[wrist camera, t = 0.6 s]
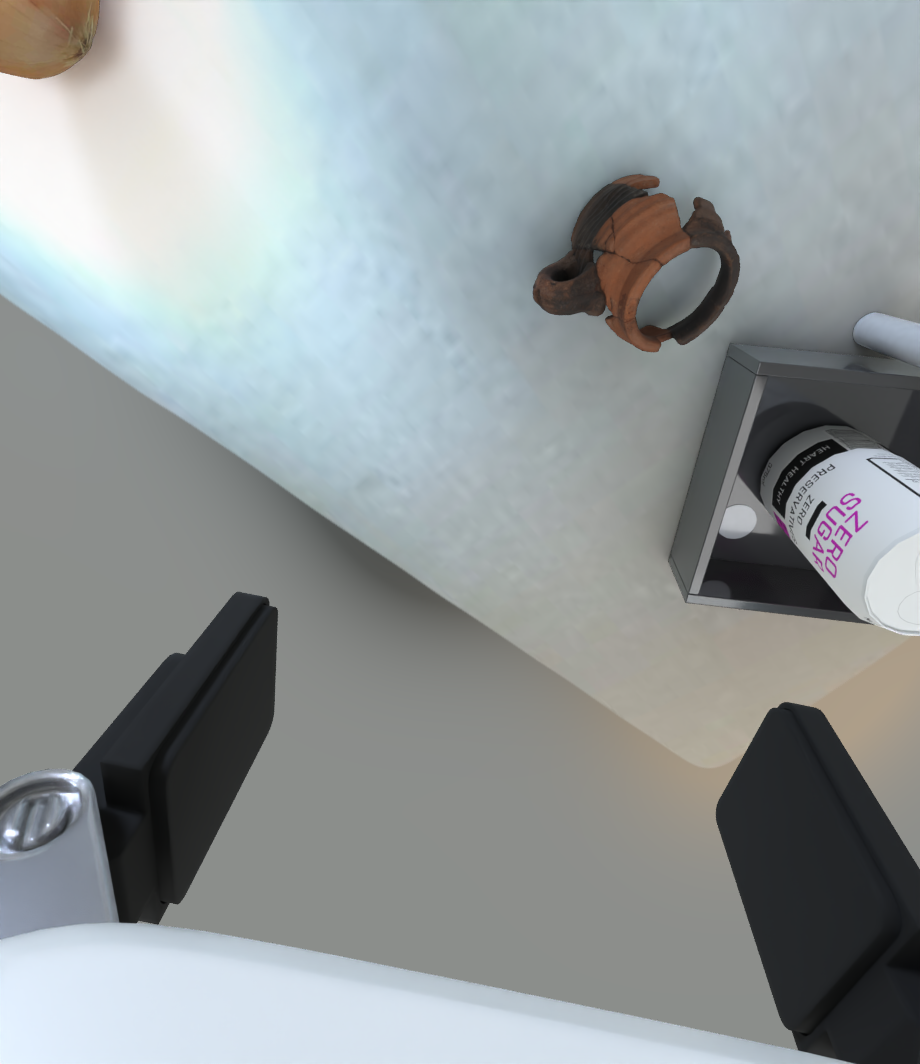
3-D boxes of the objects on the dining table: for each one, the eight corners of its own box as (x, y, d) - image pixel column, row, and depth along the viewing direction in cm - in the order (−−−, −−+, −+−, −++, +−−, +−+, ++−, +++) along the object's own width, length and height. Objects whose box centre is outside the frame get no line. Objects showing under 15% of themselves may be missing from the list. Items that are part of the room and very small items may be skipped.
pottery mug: (685, 138, 36) (767, 188, 31) (676, 279, 44) (742, 339, 39) (501, 210, 36) (553, 272, 31) (523, 339, 44) (568, 407, 39)
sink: (741, 299, 40) (808, 324, 30) (1016, 324, 39) (1171, 359, 30) (667, 561, 49) (701, 642, 40) (886, 586, 48) (972, 674, 39)
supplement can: (878, 507, 45) (1023, 626, 32) (763, 535, 47) (856, 657, 34) (873, 407, 42) (1032, 494, 29) (749, 441, 44) (846, 537, 31)
